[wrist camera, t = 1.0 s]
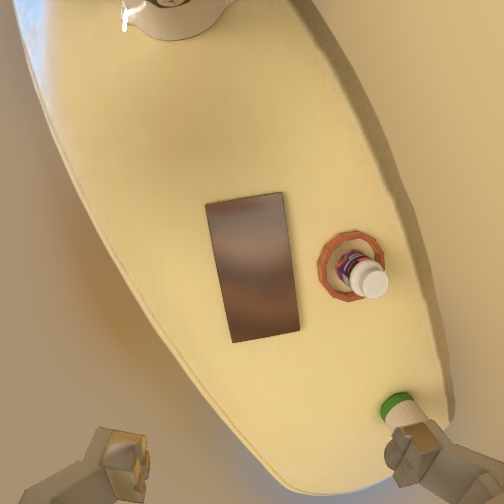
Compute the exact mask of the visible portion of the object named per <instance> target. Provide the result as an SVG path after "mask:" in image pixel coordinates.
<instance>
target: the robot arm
mask: <svg viewBox="0 0 504 504" xmlns="http://www.w3.org/2000/svg"><path fill="white" fill-rule="evenodd" d="M121 1H122V7H121V12H120V19H121V21H122V22H123V28H122V30H123V31H126V25H127V24H129V25H134V26H136V27H138V28H139V29H140V30H141V31H142V32H144V33H145V34H147V35H148V36H150V37H153V38H156V39H160V40H181V39H186V38H190V37H193V36H195V35H198V34H200V33H202V32H203V31H205V30H207V29H208V28H209V27H211V26H212V25H213V24H214V23H215V22H216V21H217V20H218V18H219V17H220V16H221V14H222V12H223V11H224V10H225V8H226V7H228V6H230V5H231V4H233V3H234V2H235V1H237V0H121ZM391 436H392V438H393V439H392V440H391V441H390V442H389V443H388V444H387V446H386V448H385V451H384V458H385V462H386V464H387V466H388V467H389V468H390V469H392V470H394V473H393V477H394V479H395V481H396V482H397V484H398V486H399V488H402V487H406V486H410V485H413V484H417V483H419V484H420V485H422V486H423V487H425V488H426V489H428V490H429V491H431V492H432V493H434V494H435V495H437V496H439V497H440V498H442V499H443V500H445V501H446V502H448V503H450V504H504V463H503V462H501V461H499V460H496V459H493V458H490V457H488V456H485V455H483V454H480V453H478V452H475V451H473V450H470V449H468V448H466V447H463V446H460V445H458V444H455V445H454V444H453V443H452V442H451V440H450V439H449V438H448V437H447V436H446V434H445V433H444V432H443V431H442V429H441V428H440V427H439V426H438V424H437V423H436V422H435V421H434V420H432V419H430V420H426V421H422V422H418V423H413V424H409V425H405V426H400V427H397V428H395V429H394V431H393V433H392V435H391ZM146 445H147V440H146V436H145V435H141V434H135V433H128V432H124V431H118V430H113V429H108V428H103V427H99V428H97V429H96V431H95V433H94V436H93V438H92V440H91V442H90V445H89V447H88V449H87V452H86V454H85V457H84V459H83V461H77V462H75V463H73V464H71V465H70V466H68V467H66V468H65V469H63V470H61V471H59V472H57V473H56V474H54V475H52V476H50V477H48V478H47V479H45V480H43V481H41V482H39V483H37V484H35V485H34V486H32V487H30V488H28V489H26V490H25V491H24V493H23V495H22V497H21V499H20V501H19V503H18V504H114V503H115V502H116V501H117V500H123V501H128V502H135V503H144V498H145V493H146V485H145V480H146V479H148V477H149V471H150V456H149V452H148V451H147V450H146Z"/></svg>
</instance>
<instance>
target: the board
mask: <svg viewBox="0 0 504 504" xmlns="http://www.w3.org/2000/svg"><path fill="white" fill-rule="evenodd" d="M205 208H206V214H207V219H208V225H209V230H210V235H211V241H212V246H213V251H214V256H215V261H216V267H217V272H218V277H219V282H220V286H221V291H222V296H223V301H224V306H225V311H226V315H227V320H228V325H229V329H230V334H231V339H232V343H237V342H243V341H248V340H254V339H259V338H265V337H270V336H275V335H280V334H285V333H290V332H295V331H300V326H299V317H298V308H297V300H296V291H295V283H294V275H293V268H292V260H291V252H290V245H289V238H288V230H287V223H286V216H285V209H284V203H283V196H282V192H277V193H271V194H264V195H258V196H252V197H246V198H240V199H234V200H229V201H223V202H217V203H212V204H206V205H205Z"/></svg>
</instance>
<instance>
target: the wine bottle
mask: <svg viewBox="0 0 504 504" xmlns="http://www.w3.org/2000/svg"><path fill="white" fill-rule="evenodd" d="M381 416H382V419H383V420H384V422H385V423H386V425H387V427H388V428H389V430H390V432H391V433H393V431H394V429H395V428H397V427H400V426H405V425H409V424H413V423H418V422H422V421H426V420H429V418H428V417H427V416H426V415H425V413H424V412H423V411H422V409H421V408H420V407H419V406H418V404H417V403H416V402H415V401H414V399H413V398H412V397H411V396H410V395H408V394H406V393H399V394H396V395H394V396H392V397H391V398H389V399H388V400H387V401H386V402H385V404H384V405H383V407H382V409H381Z"/></svg>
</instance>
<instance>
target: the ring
mask: <svg viewBox="0 0 504 504" xmlns="http://www.w3.org/2000/svg"><path fill="white" fill-rule="evenodd" d="M357 238H360V239H363V240H365V241H367V242H368V243H369V244H370V246H371V247H372V249H373V250H374V252H375V257H376V262H378V263H379V264H380V265H381V267H382V268H383V271H384V270H385V263H384V252H383V251H382V249H381V248H380V246H379V244H378V243H377V241H376V240H375V239H373V238H371V237H369V236H367V235H364V234H362V233H360V232H357V231H352V232H347V233H341V234H338V235H337V236H336V237H334V238H333V239H332V240H331V241H330V242H328V243H327V244H326V245H325V246H324V249H323V251H322V253H321V256H320V258H319V261H318V263H317V264H318V274H319V281H320V282H321V284H322V285H323V286H324V287H325V289H326V290H327V291H328V293H329V294H330V295H331V296H332V297H333V298H337V299H340V300H343V301H346V302H351V301H355V300H359V299H364V298H365V297H362V296H359V295H357V294H356V293H354V292H350V293H346V294H345V293H342V292H339V291H336V290H333V289H332V288H331V286H330V285H329V284H328V282H327V275H326V264H327V262H328V260H329V257H330V255H331V252H332V251H333V250H334V249H335V248H337V247H338V246H339V245H340V244H341V243H343V242H344V241H346V240H352V239H357Z"/></svg>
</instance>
